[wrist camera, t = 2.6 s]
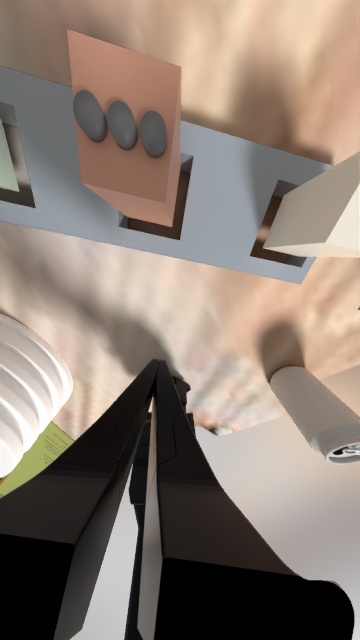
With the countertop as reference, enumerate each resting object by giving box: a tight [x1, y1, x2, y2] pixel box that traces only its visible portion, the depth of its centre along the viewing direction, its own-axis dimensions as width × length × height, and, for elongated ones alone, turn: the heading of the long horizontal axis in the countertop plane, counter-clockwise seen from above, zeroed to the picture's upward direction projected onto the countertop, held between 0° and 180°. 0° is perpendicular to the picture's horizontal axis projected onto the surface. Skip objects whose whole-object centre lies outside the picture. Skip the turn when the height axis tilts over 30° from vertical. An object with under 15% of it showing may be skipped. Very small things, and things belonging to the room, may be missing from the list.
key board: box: [0, 66, 334, 284], centre depth 14 cm, size 38×10×3 cm, turn 79°
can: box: [270, 366, 360, 464], centre depth 22 cm, size 8×8×12 cm
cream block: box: [263, 152, 360, 257], centre depth 10 cm, size 4×4×8 cm
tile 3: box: [67, 29, 181, 227], centre depth 9 cm, size 4×4×8 cm
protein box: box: [0, 421, 75, 498], centre depth 31 cm, size 10×15×16 cm
